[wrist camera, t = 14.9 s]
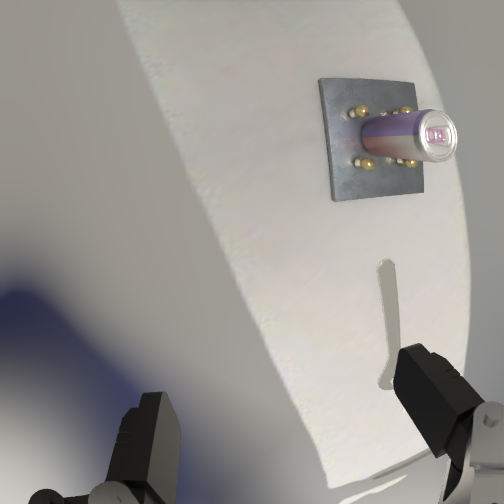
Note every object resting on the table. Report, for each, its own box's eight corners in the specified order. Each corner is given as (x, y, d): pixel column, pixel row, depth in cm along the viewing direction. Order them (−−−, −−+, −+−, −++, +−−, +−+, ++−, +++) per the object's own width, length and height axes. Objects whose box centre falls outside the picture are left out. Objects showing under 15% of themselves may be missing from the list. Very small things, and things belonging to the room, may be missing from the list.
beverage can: (357, 117, 40) (416, 106, 25) (392, 117, 40) (456, 111, 26) (361, 157, 41) (420, 163, 27) (395, 156, 42) (460, 163, 28)
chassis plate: (318, 80, 39) (329, 72, 34) (409, 84, 40) (426, 79, 35) (332, 200, 45) (344, 205, 40) (418, 191, 45) (436, 196, 41)
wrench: (378, 393, 59) (379, 395, 58) (360, 267, 49) (362, 269, 48) (410, 377, 59) (412, 379, 58) (402, 250, 49) (405, 252, 48)
